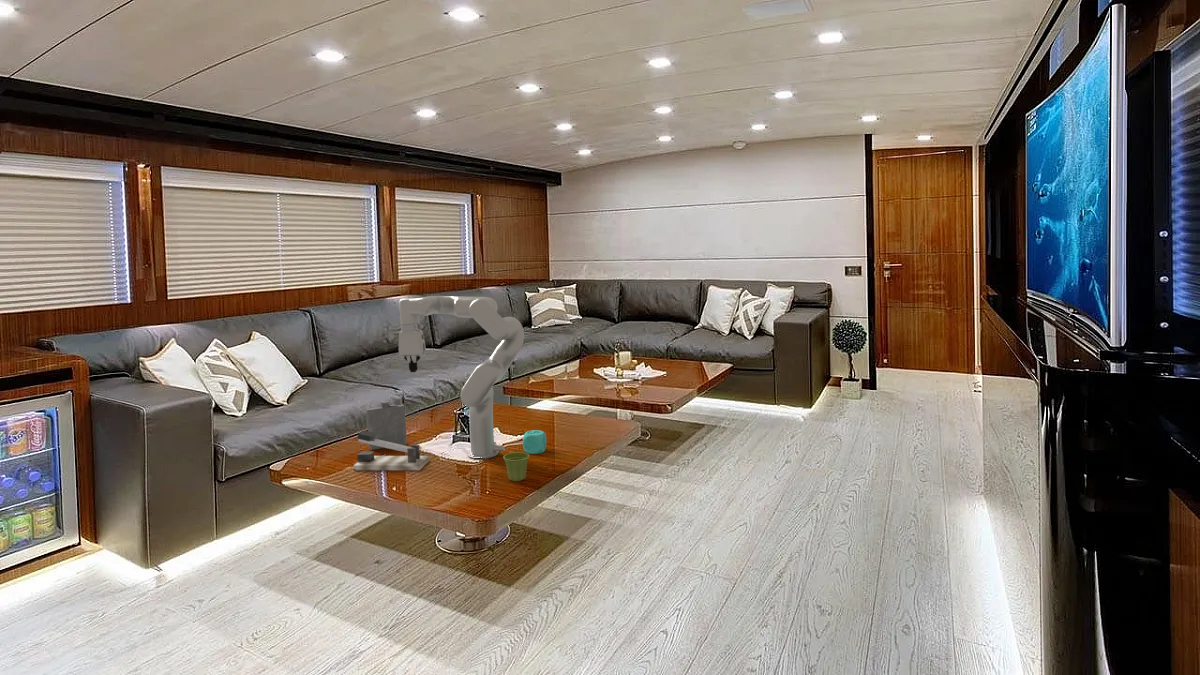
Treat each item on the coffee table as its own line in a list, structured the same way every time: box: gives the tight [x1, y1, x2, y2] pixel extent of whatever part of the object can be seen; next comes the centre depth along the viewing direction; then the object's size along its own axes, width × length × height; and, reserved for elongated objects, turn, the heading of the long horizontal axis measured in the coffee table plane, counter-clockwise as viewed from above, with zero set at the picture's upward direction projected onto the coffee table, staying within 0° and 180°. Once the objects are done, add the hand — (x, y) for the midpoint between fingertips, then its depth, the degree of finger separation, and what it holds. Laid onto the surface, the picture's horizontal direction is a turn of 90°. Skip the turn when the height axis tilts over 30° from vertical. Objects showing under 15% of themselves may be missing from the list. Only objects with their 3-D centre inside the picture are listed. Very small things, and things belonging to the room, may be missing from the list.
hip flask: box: [366, 400, 408, 451], centre depth 288 cm, size 16×4×20 cm, turn 117°
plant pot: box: [503, 451, 530, 482], centre depth 244 cm, size 9×9×9 cm
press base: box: [353, 444, 430, 471], centre depth 262 cm, size 26×12×8 cm, turn 86°
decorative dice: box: [522, 429, 547, 455], centre depth 277 cm, size 8×8×8 cm
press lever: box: [356, 430, 414, 454], centre depth 262 cm, size 22×5×4 cm, turn 87°
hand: (413, 371), depth 275 cm, fingers closed
